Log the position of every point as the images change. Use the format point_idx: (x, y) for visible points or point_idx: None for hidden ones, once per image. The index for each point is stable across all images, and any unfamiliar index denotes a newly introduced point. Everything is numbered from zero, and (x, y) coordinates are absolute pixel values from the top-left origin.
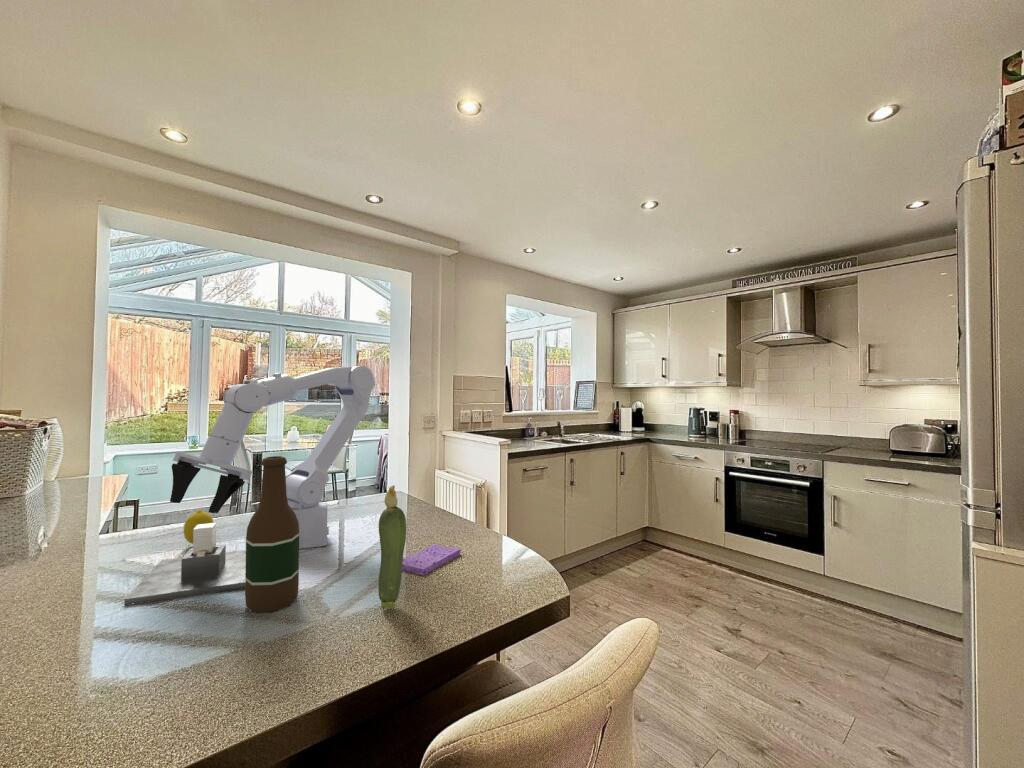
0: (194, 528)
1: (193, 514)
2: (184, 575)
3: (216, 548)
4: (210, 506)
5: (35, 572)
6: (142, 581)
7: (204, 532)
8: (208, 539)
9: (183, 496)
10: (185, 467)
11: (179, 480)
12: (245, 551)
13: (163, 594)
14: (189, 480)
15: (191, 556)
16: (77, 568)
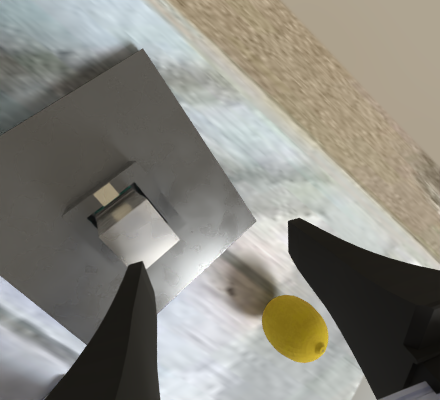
0: (149, 205)
1: (321, 334)
2: (125, 164)
3: None
4: (139, 273)
5: (382, 140)
6: (193, 129)
7: (118, 217)
8: (106, 220)
9: (301, 273)
10: (413, 330)
11: (349, 266)
12: None
13: (85, 84)
14: (346, 324)
15: (127, 181)
16: (350, 167)
